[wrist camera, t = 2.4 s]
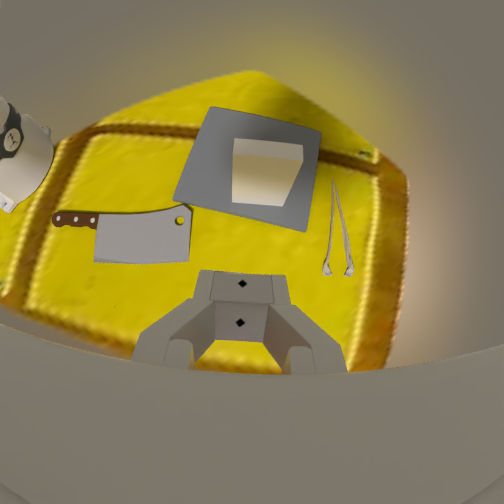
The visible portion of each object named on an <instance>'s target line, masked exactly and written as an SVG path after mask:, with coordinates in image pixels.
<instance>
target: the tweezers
mask: <svg viewBox="0 0 504 504" xmlns="http://www.w3.org/2000/svg"><path fill="white" fill-rule="evenodd" d="M335 188H336V184H335ZM336 198H337V203H338V207H339V212H340V217H341V223H342V229H343V231H342V232H343V240H344V247H345V253H346V259H347V266H348V269H347V271H346V273H345V276H348V277H351V276H352V275H353V272H354V266H353V264H352V259H351V252H350V244H349V239H348V235H347V231H346V227H345V223H344V219H343V215H342V211H341V206H340V202H339V198H338V193H337V189H336ZM333 216H334V195H333V180H332V213H331V227H330V238H329V245H328V252H327V257H326V261H325V263H324V266H323V274H324V275H325V276H332V274H331V271H330V269H329V267H328V262H329V255H330V250H331V238H332V229H333ZM348 254H350V259H349V256H348Z"/></svg>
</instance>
